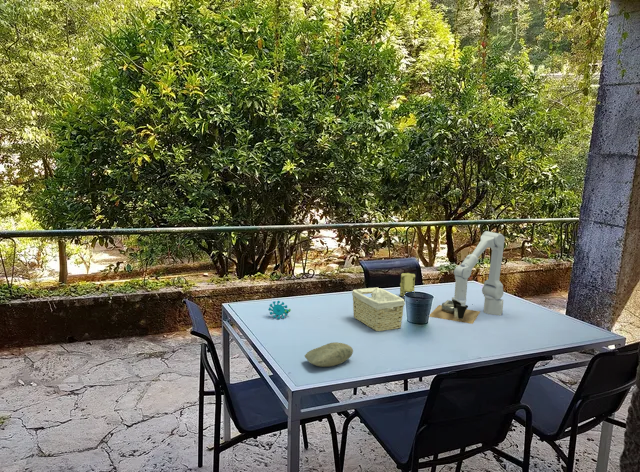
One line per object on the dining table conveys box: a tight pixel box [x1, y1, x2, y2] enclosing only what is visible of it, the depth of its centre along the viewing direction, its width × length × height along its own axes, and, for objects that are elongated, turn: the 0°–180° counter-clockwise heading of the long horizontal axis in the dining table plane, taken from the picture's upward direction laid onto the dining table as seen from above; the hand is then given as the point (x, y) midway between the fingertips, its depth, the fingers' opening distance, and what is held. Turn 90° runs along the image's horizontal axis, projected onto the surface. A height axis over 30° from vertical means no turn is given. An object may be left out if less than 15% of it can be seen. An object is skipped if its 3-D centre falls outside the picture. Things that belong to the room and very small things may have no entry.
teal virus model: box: [268, 300, 292, 320], centre depth 257 cm, size 11×6×10 cm
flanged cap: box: [454, 308, 460, 319], centre depth 262 cm, size 5×5×4 cm
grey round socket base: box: [441, 299, 454, 314], centre depth 274 cm, size 12×12×4 cm
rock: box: [304, 342, 354, 368], centre depth 202 cm, size 8×11×20 cm
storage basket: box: [351, 286, 406, 332], centre depth 251 cm, size 24×16×15 cm
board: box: [428, 304, 482, 325], centre depth 270 cm, size 22×24×1 cm
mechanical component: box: [399, 272, 416, 297], centre depth 300 cm, size 8×17×20 cm, turn 174°
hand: (458, 315), depth 263 cm, fingers open, 7 cm apart
